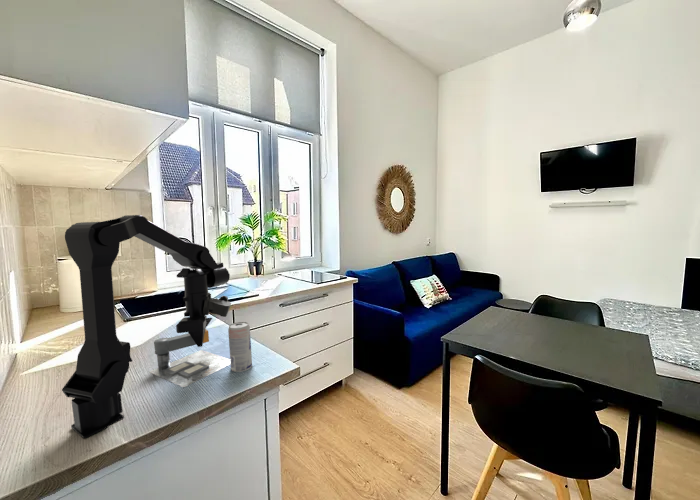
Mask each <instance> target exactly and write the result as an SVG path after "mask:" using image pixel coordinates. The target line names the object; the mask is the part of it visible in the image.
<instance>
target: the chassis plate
mask: <svg viewBox="0 0 700 500" xmlns="http://www.w3.org/2000/svg"><path fill="white" fill-rule="evenodd" d="M156 359H157V368H155V369H152V370H150V371H148V373H150V374H153V375H154V376H156V377H159V378H161V379H164V380H165V381H167V382H171V384H174V385H177V386H179V387H182V388H183V389H184V388H186V387H188V386H190V385H192V384H194V383H196V382H198V381H200V380H202V379H204V378H206V377H208V376H210V375H212V374H214V373H216V372H218V371H220V370H222V369H224V368H226V367H228V366H231V362H230V358H227V357H224V356H221V355H218V354H215V353H212V352H210V351H205V350H203V349H201V350H198V351H195V352H193V353H191V354H189V355H186V356H183V357H181V358H178V359H177V360H174V361H172V362H171V358H170V352H168V353H165V354H161V355H156ZM185 361H187V362H190V363H193V364H195V365H196V364H198V363H202V364H205V365H208V366H209V368H207V369H205V370H203V371H201V372H199V373H197V374H195V375H193V376H191V377H189V378H186V377H183V376H181V375H179V374H176V375H174V376H171V375H169V374H167V373H164V370H166V369H168V368H171V367H173V366H175V365H178V364H180V363H183V362H185Z"/></svg>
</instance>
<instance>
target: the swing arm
mask: <svg viewBox="0 0 700 500" xmlns="http://www.w3.org/2000/svg"><path fill="white" fill-rule="evenodd" d="M205 343H210V336H209V330H208V329H207V328H206V329H205V335H204V340H203V344H205ZM153 345H154V347H153V349H154V354H155V355H156V356H157V355H161V354H165V353H168V352H169V353H170V352H174V351H177V350H181V349H184V348H188V347H192V346H195V345H196V343H195V342H194V340H193V339H192V337H191V336H190V334H189V333H188V332H187V333H185V334H183V333H182V334H179V335H176V336H171V337H160V338H158V339H155V340H154V341H153ZM196 346H197V345H196Z"/></svg>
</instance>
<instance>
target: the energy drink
mask: <svg viewBox="0 0 700 500" xmlns="http://www.w3.org/2000/svg"><path fill="white" fill-rule="evenodd" d="M227 330H228V347H229V359H230V362H231V364H230V370H231V371H232V372H234V373H242V372H246V371H248V370H249V369H251V368H252V367H253V358H252V357H253V356H252V339H251V327H250V323H249V322H247V321H237V322H234V323H231V324H229V325H228V328H227Z"/></svg>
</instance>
